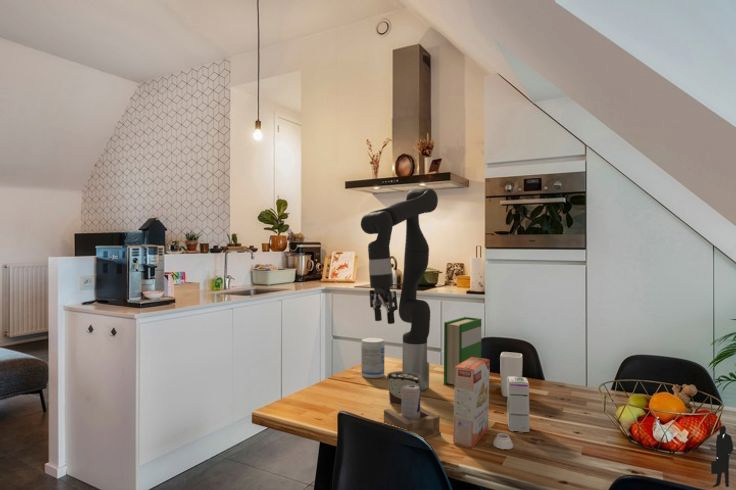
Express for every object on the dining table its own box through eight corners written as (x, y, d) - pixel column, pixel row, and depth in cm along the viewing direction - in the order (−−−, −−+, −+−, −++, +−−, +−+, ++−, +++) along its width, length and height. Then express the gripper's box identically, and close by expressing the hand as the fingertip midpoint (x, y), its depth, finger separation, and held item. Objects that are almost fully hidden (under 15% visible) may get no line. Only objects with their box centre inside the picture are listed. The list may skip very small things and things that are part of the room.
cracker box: (474, 449, 117) (474, 369, 117) (452, 443, 120) (453, 366, 120) (490, 430, 129) (490, 358, 129) (469, 426, 132) (470, 355, 132)
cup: (499, 398, 157) (499, 355, 157) (501, 391, 163) (501, 351, 163) (521, 401, 154) (521, 358, 154) (522, 394, 161) (522, 353, 161)
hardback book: (461, 388, 167) (461, 324, 167) (443, 384, 172) (444, 322, 172) (480, 377, 181) (481, 318, 181) (464, 374, 186) (464, 316, 186)
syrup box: (529, 433, 127) (530, 382, 127) (508, 431, 128) (508, 381, 128) (526, 425, 133) (527, 376, 133) (506, 423, 134) (506, 375, 134)
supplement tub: (386, 378, 179) (387, 341, 179) (363, 379, 177) (364, 342, 177) (381, 371, 188) (381, 337, 188) (359, 372, 186) (359, 337, 186)
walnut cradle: (415, 420, 136) (416, 403, 136) (440, 435, 125) (440, 416, 125) (382, 428, 130) (382, 410, 130) (405, 444, 119) (405, 424, 119)
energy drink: (421, 426, 129) (422, 385, 129) (417, 433, 124) (418, 390, 124) (403, 423, 131) (404, 383, 131) (399, 430, 126) (399, 388, 126)
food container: (426, 403, 151) (426, 373, 151) (420, 409, 146) (420, 378, 146) (392, 397, 156) (392, 369, 156) (385, 403, 151) (386, 373, 151)
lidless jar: (489, 444, 120) (501, 452, 116) (489, 433, 120) (502, 440, 116) (504, 441, 122) (517, 448, 118) (504, 430, 122) (517, 437, 118)
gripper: (401, 272, 141) (405, 323, 141) (380, 271, 154) (384, 318, 154) (381, 274, 138) (385, 326, 137) (360, 273, 150) (364, 321, 150)
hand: (384, 322), depth 146 cm, fingers open, 8 cm apart
